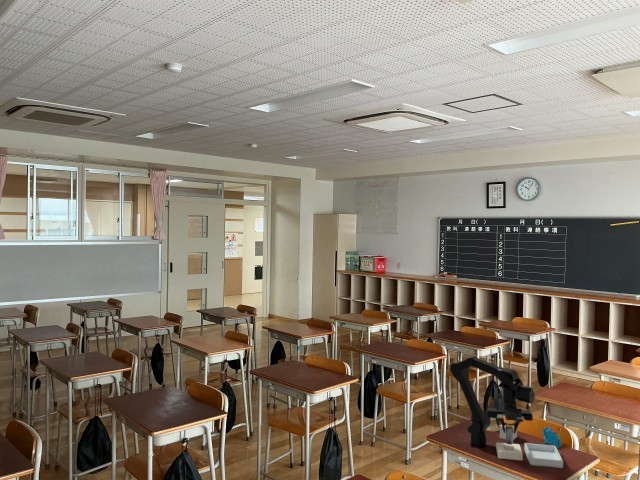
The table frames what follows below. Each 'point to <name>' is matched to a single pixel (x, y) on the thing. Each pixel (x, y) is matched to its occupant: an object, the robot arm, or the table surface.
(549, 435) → the gear
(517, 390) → the robot arm
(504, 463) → the table surface
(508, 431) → the lock pin
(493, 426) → the hand bell
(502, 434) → the white cube
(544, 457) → the parts tray
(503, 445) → the white square hole block
